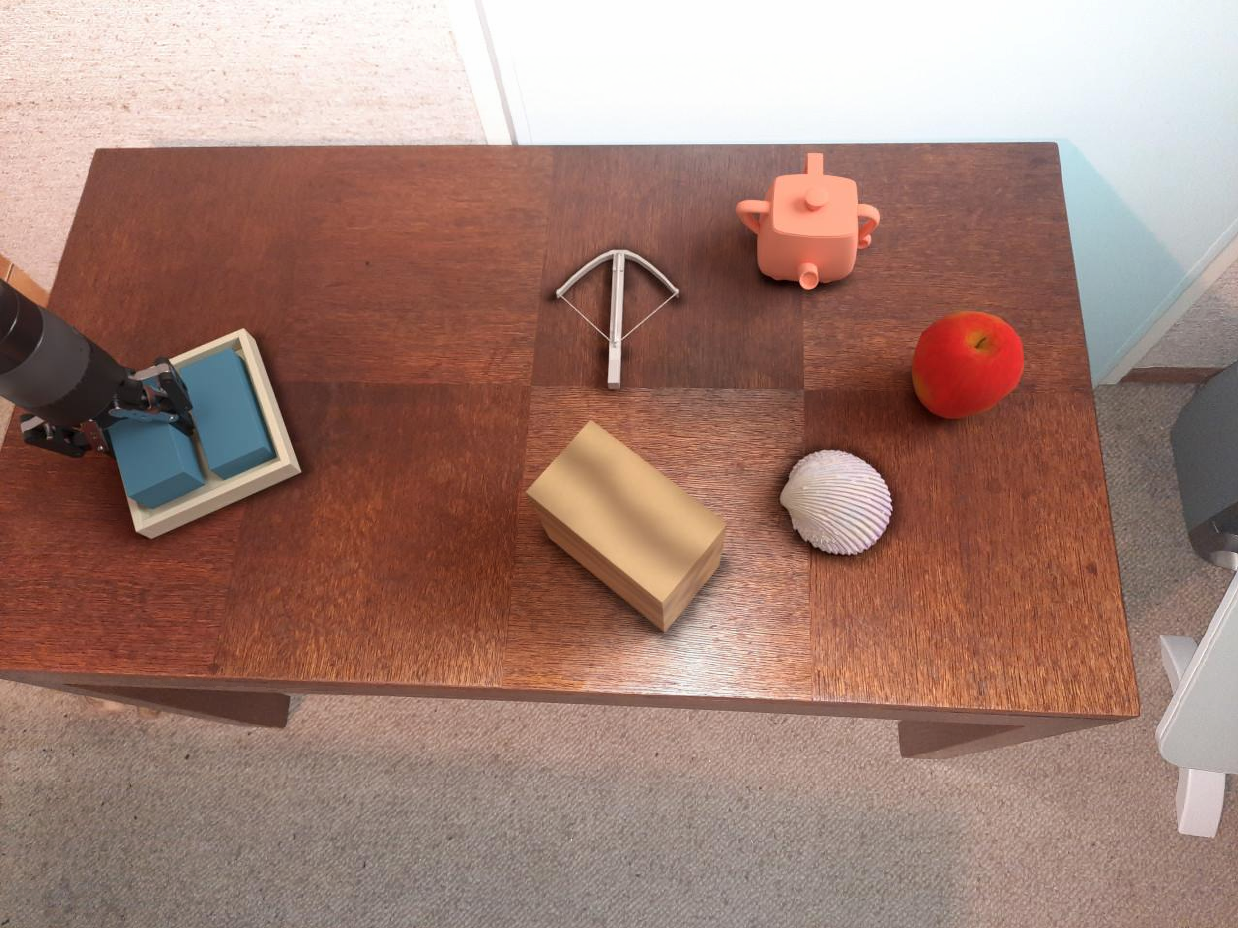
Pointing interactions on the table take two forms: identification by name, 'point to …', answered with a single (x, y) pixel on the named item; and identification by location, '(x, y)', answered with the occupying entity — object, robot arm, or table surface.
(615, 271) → the crossbow
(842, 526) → the seashell
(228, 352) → the blue brick
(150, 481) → the blue rectangular block
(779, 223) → the teapot
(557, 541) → the tan wooden block
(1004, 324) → the apple
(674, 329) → the table surface
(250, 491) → the cream tray
